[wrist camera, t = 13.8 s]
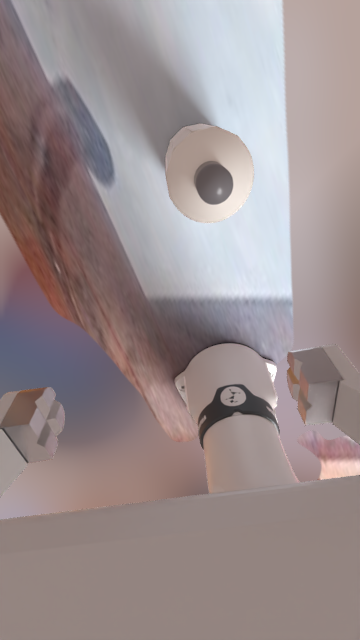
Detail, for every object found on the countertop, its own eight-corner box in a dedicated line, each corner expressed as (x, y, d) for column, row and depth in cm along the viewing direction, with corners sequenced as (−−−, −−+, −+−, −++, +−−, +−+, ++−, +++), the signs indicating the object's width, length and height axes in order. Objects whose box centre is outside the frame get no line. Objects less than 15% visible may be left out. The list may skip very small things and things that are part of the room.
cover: (228, 185, 40) (264, 224, 26) (172, 197, 40) (176, 240, 26) (223, 118, 36) (261, 119, 22) (160, 131, 36) (157, 140, 22)
